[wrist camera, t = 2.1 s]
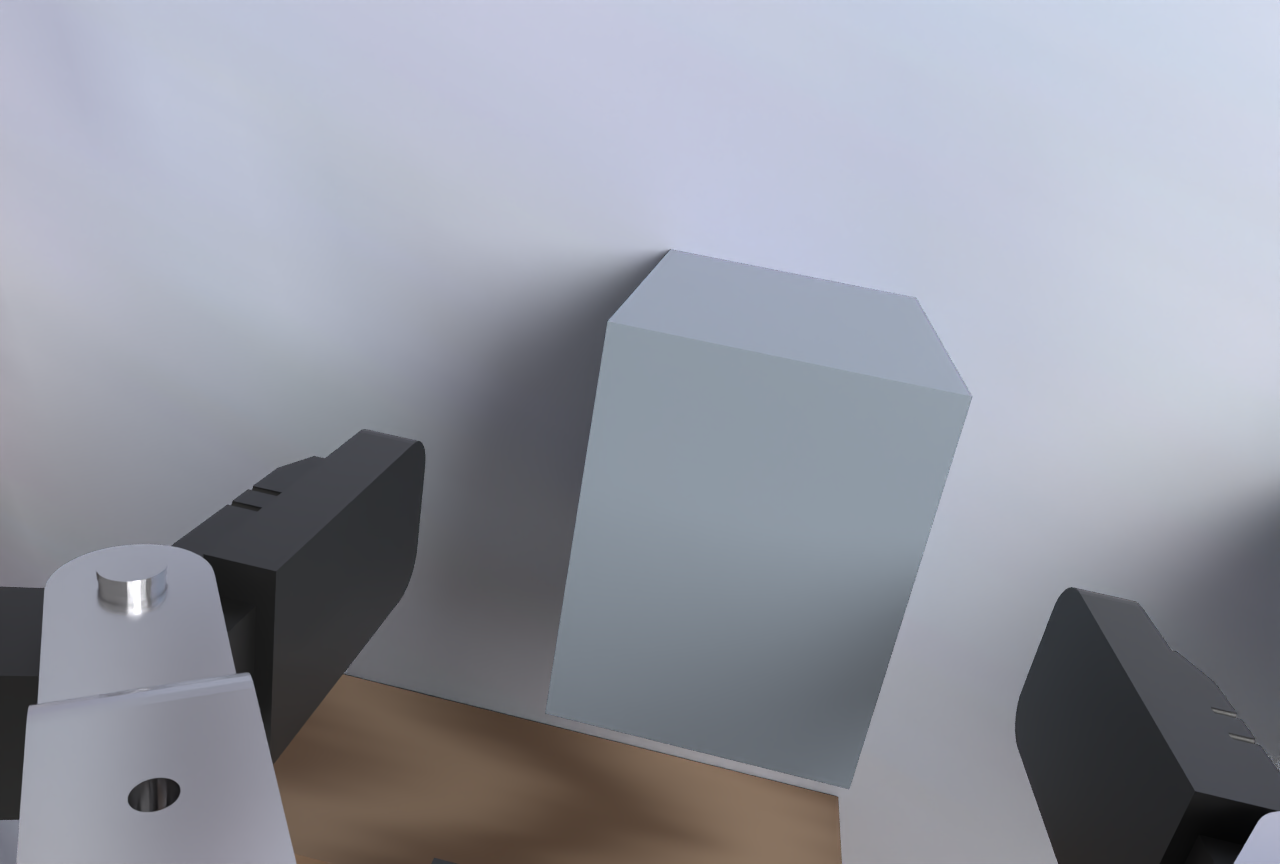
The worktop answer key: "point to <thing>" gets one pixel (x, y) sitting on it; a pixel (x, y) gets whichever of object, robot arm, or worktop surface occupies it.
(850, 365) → the grey brick
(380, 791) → the brown studded stepped block
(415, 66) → the worktop surface
